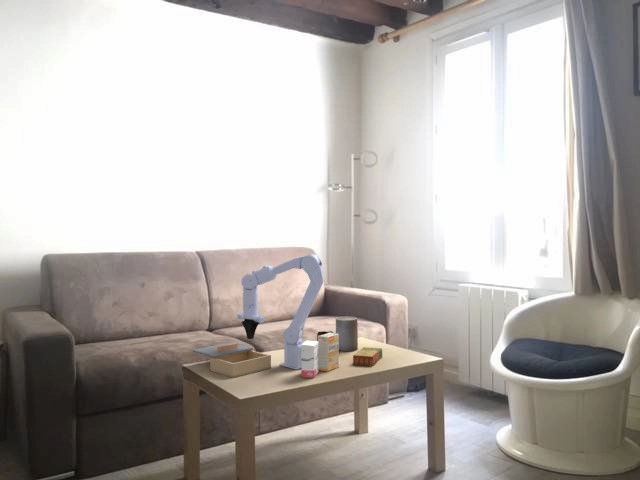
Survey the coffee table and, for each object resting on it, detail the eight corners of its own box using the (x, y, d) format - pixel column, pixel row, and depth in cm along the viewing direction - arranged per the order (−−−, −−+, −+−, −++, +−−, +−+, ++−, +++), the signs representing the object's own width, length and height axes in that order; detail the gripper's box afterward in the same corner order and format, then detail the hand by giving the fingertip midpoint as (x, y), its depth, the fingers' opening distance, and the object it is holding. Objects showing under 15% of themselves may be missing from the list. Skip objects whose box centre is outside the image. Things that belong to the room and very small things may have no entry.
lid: (252, 349, 220) (252, 342, 220) (214, 358, 207) (214, 350, 207) (230, 344, 230) (230, 337, 230) (192, 351, 217) (192, 344, 217)
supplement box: (328, 372, 208) (328, 337, 207) (317, 370, 210) (317, 335, 210) (339, 367, 215) (339, 333, 214) (328, 365, 217) (328, 332, 217)
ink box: (314, 378, 199) (314, 345, 199) (300, 377, 200) (300, 344, 200) (318, 372, 208) (318, 340, 207) (306, 371, 209) (306, 339, 208)
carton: (352, 365, 219) (352, 354, 219) (363, 356, 234) (363, 346, 234) (373, 367, 216) (373, 356, 216) (382, 358, 231) (382, 347, 231)
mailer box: (270, 368, 213) (270, 355, 213) (232, 377, 200) (232, 363, 200) (247, 362, 222) (247, 349, 222) (210, 370, 210) (210, 357, 209)
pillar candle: (356, 346, 251) (356, 313, 251) (359, 351, 241) (358, 316, 241) (334, 346, 251) (334, 313, 250) (336, 351, 241) (336, 317, 240)
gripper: (230, 303, 221) (231, 337, 222) (254, 307, 211) (254, 343, 211) (244, 301, 226) (245, 335, 227) (268, 305, 216) (268, 340, 217)
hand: (250, 338), depth 219 cm, fingers closed
